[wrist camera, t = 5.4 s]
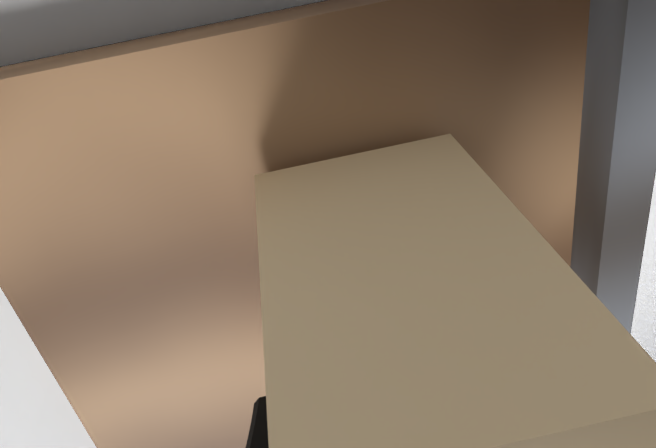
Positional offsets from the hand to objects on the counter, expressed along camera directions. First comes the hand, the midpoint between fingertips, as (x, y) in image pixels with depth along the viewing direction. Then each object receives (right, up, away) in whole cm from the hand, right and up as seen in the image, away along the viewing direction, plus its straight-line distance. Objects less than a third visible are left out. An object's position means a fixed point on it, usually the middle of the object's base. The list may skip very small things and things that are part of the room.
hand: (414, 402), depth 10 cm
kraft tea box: (-1, +2, +3) cm, 4 cm away
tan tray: (-2, +2, +4) cm, 5 cm away
